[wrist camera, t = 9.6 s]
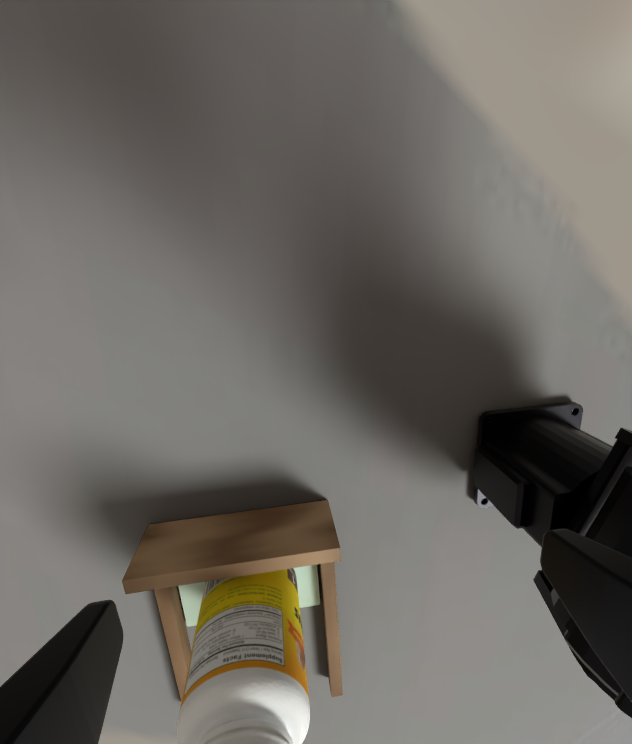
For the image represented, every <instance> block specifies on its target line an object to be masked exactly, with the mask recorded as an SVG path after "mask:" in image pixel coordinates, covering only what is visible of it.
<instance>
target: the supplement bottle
mask: <svg viewBox="0 0 632 744" xmlns="http://www.w3.org/2000/svg"><path fill="white" fill-rule="evenodd" d="M309 722H310V707H309V696H308V685H307V676H306V666H305V656H304V645H303V635H302V624H301V616H300V606H299V597H298V586H297V578H296V573H295V570H294V568H290V569H284V570H278V571H271V572H265V573H258V574H252V575H245V576H239V577H232V578H226V579H219V580H213V581H207V582H205V586H204V591H203V596H202V601H201V606H200V611H199V616H198V621H197V626H196V631H195V636H194V641H193V646H192V651H191V657H190V662H189V667H188V672H187V677H186V682H185V687H184V692H183V697H182V701H181V707H180V712H179V717H178V722H177V732H176V734H177V742H178V744H302V743H303V741H304V739H305V737H306V734H307V731H308V727H309Z"/></svg>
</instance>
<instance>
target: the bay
mask: <svg viewBox="0 0 632 744" xmlns="http://www.w3.org/2000/svg"><path fill="white" fill-rule="evenodd" d="M336 561H341V554H340V545H339V541H338V538H337V534H336V530H335V526H334V522H333V518H332V514H331V510H330V507H329V503H328V500H324V501H316V502H309V503H302V504H295V505H287V506H280V507H273V508H265V509H258V510H251V511H243V512H236V513H229V514H221V515H214V516H207V517H200V518H192V519H185V520H178V521H170V522H163V523H156V524H149V525H148V527H147V529H146V531H145V533H144V535H143V538H142V540H141V542H140V544H139V546H138V548H137V550H136V552H135V554H134V557H133V559H132V561H131V563H130V565H129V567H128V569H127V571H126V573H125V576H124V578H123V580H122V583H123V586H124V590H125V594H129V593H136V592H142V591H149V590H154V591H155V596H156V600H157V604H158V608H159V612H160V616H161V620H162V624H163V629H164V633H165V637H166V641H167V645H168V649H169V653H170V657H171V661H172V666H173V670H174V674H175V678H176V682H177V686H178V690H179V694H180V699H181V701H182V697H183V692H184V687H185V682H186V677H187V672H188V667H189V662H190V657H191V648H190V644H189V639H188V635H187V630H186V625H185V621H184V616H183V612H182V607H181V603H180V598H179V594H178V589H177V586H178V587H179V592H180V596H181V601H182V606H183V610H184V615H185V619H186V624H187V627H189V626H195V625H197V621H198V616H199V611H200V606H201V601H202V596H203V591H204V586H205V582H207V581H213V580H219V579H226V578H232V577H239V576H245V575H252V574H258V573H265V572H271V571H278V570H284V569H290V568H294V570H295V573H296V578H297V586H298V597H299V606H300V608H302V607H308V606H314V605H320V595H319V583H318V570H317V564H320V573H321V586H322V599H323V611H324V624H325V637H326V650H327V662H328V675H329V684H330V690H331V697H335V696H340V695H343V690H342V675H341V659H340V644H339V628H338V613H337V597H336V582H335V566H334V562H336Z"/></svg>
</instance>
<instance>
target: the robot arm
mask: <svg viewBox="0 0 632 744" xmlns="http://www.w3.org/2000/svg"><path fill="white" fill-rule="evenodd" d="M573 409H574V410H573ZM572 410H573V412H572ZM571 412H572V413H571ZM582 413H583V408H582V406H581V405H579V404H577V403H575V402H566V403H557V404H549V405H540V406H531V407H523V408H514V409H506V410H497V411H489V412H484V413H483V414H482V415H481V416H480V418H479V425H478V441H477V448H476V450H475V464H474V480H473V484H474V485H475V487H474V502H475V503H476V504H477V505H478V506H479V507H480V508H489V507H496V508H497V509H498V510H499V511H500V512H501V513H502V514H503V515H504V517H505V518H506V519H507V520H508V521H509V522H510V523H511V524H512V525H513V526H515V527H516V528H517V529H518V528H523V529H524V530H525V531H526V532H527V533H528V534H529V535H530V536H531V537H532V538H533V539H534V540H535V541H536V542H537V543H538V544H539V545H540V546H541V547H542V550H541V558H540V562H541V567H542V570H539V571H538V572H537V574H536V576H535V578H534V582H535V584H536V586H537V588H538V589H539V591H540V593H541V595H542V597H543V599H544V601H545V603H546V605H547V606H548V608H549V610H550V612H551V614H552V616H553V618H554V620H555V621H556V623H557V625H558V627H559V629H560V631H561V633H562V635H563V636H564V638H565V640H566V642H567V644H568V646H569V648H570V650H571V652H572V653H573V655H574V656H575V658H576V660H577V661H578V663H579V664H580V665H581V667H582V668H583V670H584V672H585V673H586V674H587V676H588V677H589V678H591V679H592V680H593V681H594V682H595V683H596V684H597V685H598V686H599V687H600V688H601V689H602V690H603V691H604V692H606V693H607V694H608V695H609V696H610V697H611V698H612V699H613V700H614V701H615V704H616V705H617V706H618V708H619V709H620V710H621V711H623V712H624V713H625V714H627V715H628V716H630V717H631V718H632V431H630V430H627V429H624V428H620V430H619V432H618V434H617V435H616V437H615V438H616V439H617V440H616V442H615V444H614V446H611V445H609V444H607V443H605V442H603V441H601V440H599V439H597V438H595V437H593V436H591V435H589V434H587V433H586V432H584V431H582V430H580V426H581V420H582ZM489 418H491V419H490V421H489V422H488V423H486V422H487V420H488V419H489ZM483 498H484V500H482V499H483ZM481 500H482V501H481ZM122 644H123V630H122V626H121V622H120V619H119V616H118V612H117V609H116V605H115V603H114V602H113V601H112V600H105V601H99V602H92V603H90V604H88V605H87V606H85V607H84V608H83V609H82V610H81V611H80V612H79V613H78V614H77V615H76V616H75V617H74V618H73V619H72V620H70V621H69V622H68V623H67V624H66V625H65V626H64V627H63V628H62V629H61V630H60V631H59V632H58V633H57V634H56V635H55V636H54V637H52V638H51V639H50V640H49V641H48V642H47V643H46V644H45V645H44V646H43V647H42V648H41V649H40V650H39V651H38V652H37V653H36V654H35V655H33V656H32V657H31V658H30V659H29V660H28V661H27V662H26V663H25V664H24V665H23V666H22V667H21V668H20V669H19V670H18V671H17V672H15V673H14V674H13V675H12V676H11V677H10V678H9V679H8V680H7V681H6V682H5V683H4V684H3V685H2V686H1V687H0V744H98V741H99V738H100V734H101V730H102V726H103V722H104V718H105V714H106V710H107V706H108V702H109V698H110V694H111V689H112V685H113V681H114V677H115V673H116V669H117V665H118V661H119V657H120V653H121V648H122Z"/></svg>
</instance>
